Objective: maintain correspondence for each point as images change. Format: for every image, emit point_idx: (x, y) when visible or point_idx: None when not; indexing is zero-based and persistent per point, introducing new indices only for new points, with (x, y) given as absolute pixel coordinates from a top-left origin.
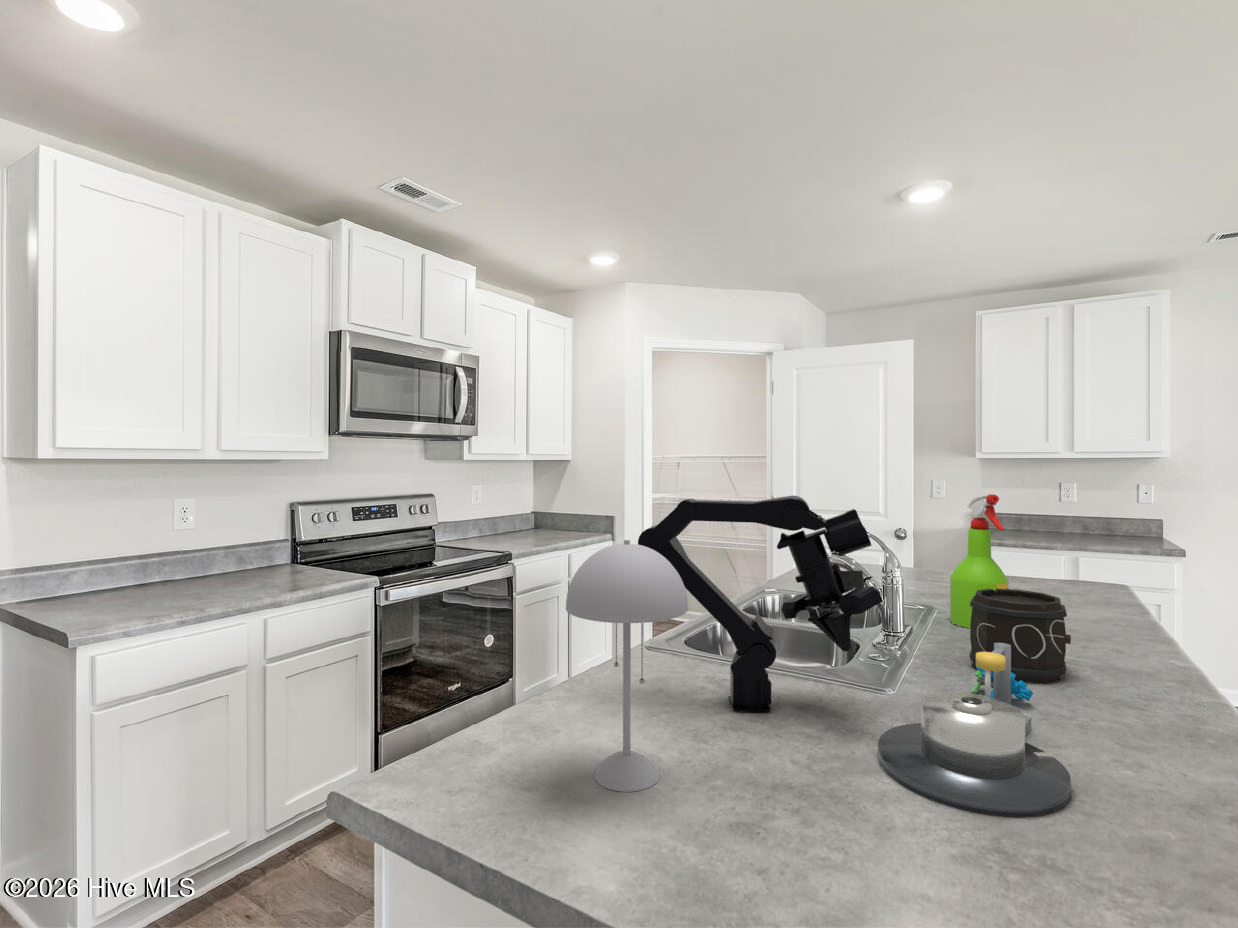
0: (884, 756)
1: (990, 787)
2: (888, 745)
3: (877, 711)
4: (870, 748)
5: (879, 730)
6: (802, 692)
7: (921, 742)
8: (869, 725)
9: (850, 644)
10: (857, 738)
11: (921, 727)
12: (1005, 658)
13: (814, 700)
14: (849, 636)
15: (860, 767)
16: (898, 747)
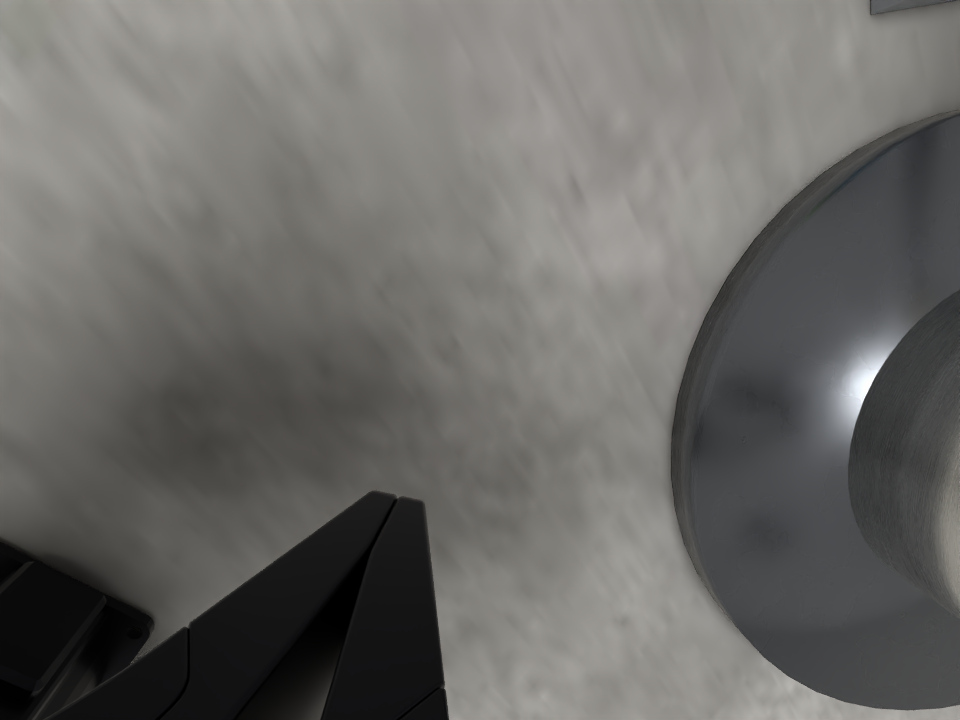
0: (789, 676)
1: None
2: (761, 595)
3: (456, 168)
4: (650, 548)
5: (588, 375)
6: (3, 263)
7: (893, 561)
8: (530, 364)
9: (426, 527)
10: (571, 517)
11: (948, 599)
12: None
13: (147, 313)
14: (432, 614)
15: (697, 684)
16: (794, 581)
